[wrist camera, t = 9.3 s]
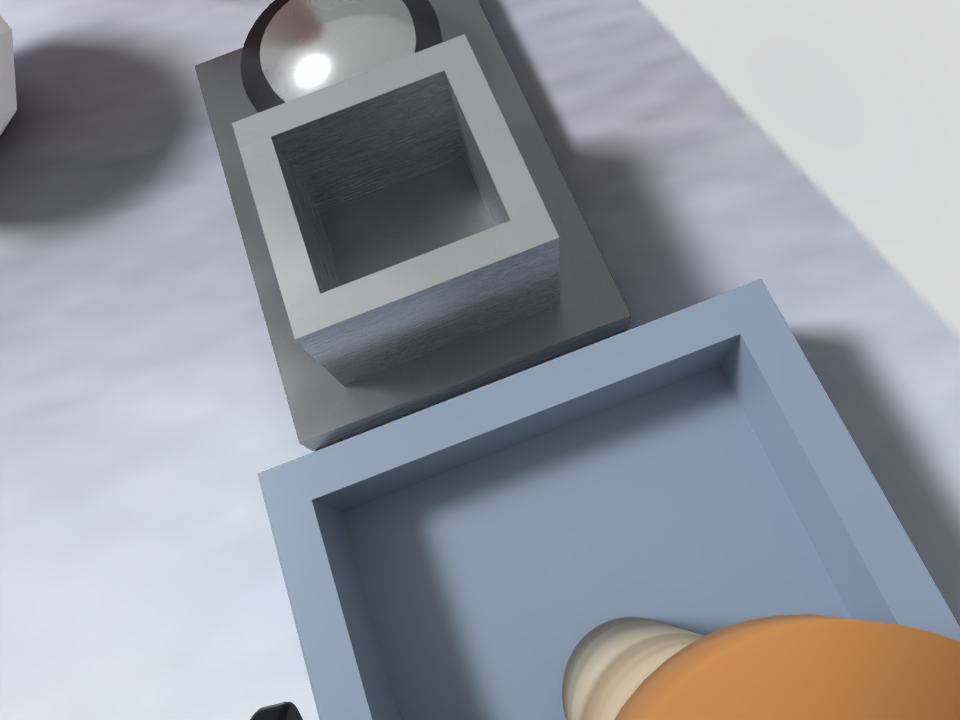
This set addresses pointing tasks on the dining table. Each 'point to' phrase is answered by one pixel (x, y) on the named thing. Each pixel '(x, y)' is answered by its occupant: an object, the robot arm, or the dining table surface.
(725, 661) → the orange-brown round-topped piece
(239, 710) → the dining table surface
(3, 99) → the ball
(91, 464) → the dining table surface
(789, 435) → the tray
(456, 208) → the grey piece
